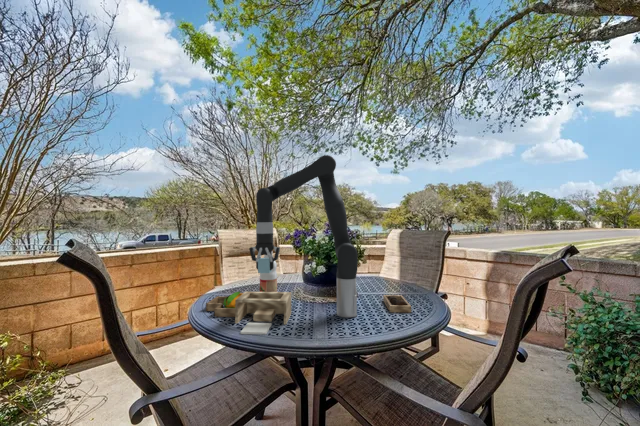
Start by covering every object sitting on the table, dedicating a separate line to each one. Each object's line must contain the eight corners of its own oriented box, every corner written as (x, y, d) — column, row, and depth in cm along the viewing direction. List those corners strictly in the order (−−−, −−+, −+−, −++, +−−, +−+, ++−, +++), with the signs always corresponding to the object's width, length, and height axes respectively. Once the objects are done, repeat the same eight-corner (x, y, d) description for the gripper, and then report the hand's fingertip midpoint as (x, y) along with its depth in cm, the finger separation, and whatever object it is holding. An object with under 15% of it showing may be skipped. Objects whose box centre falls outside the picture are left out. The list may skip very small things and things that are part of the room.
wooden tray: (402, 301, 156) (402, 295, 156) (411, 312, 137) (411, 306, 137) (383, 300, 156) (383, 295, 156) (390, 312, 137) (390, 305, 137)
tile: (271, 325, 121) (271, 323, 121) (265, 334, 111) (265, 332, 111) (248, 324, 121) (248, 322, 121) (240, 334, 111) (240, 332, 111)
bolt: (390, 306, 153) (404, 314, 139) (382, 301, 153) (395, 309, 138) (395, 296, 154) (409, 303, 139) (387, 292, 153) (400, 298, 139)
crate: (291, 313, 135) (291, 292, 136) (286, 324, 121) (286, 300, 122) (245, 312, 137) (245, 291, 137) (235, 323, 123) (235, 299, 123)
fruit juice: (275, 302, 152) (275, 250, 153) (257, 302, 153) (257, 250, 153) (278, 298, 162) (278, 248, 162) (262, 297, 162) (262, 248, 163)
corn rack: (272, 299, 158) (272, 293, 158) (258, 317, 130) (258, 309, 130) (222, 299, 160) (222, 292, 160) (198, 316, 132) (198, 308, 132)
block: (271, 270, 132) (271, 257, 132) (269, 273, 127) (269, 259, 127) (260, 270, 132) (260, 257, 132) (258, 273, 127) (258, 259, 127)
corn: (220, 297, 136) (236, 286, 156) (219, 313, 136) (235, 300, 156) (235, 298, 135) (249, 288, 155) (234, 314, 135) (248, 302, 155)
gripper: (282, 231, 133) (282, 268, 133) (251, 232, 134) (251, 268, 134) (278, 232, 126) (278, 271, 125) (246, 232, 126) (246, 271, 126)
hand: (264, 269), depth 129 cm, fingers closed on block, 5 cm apart
